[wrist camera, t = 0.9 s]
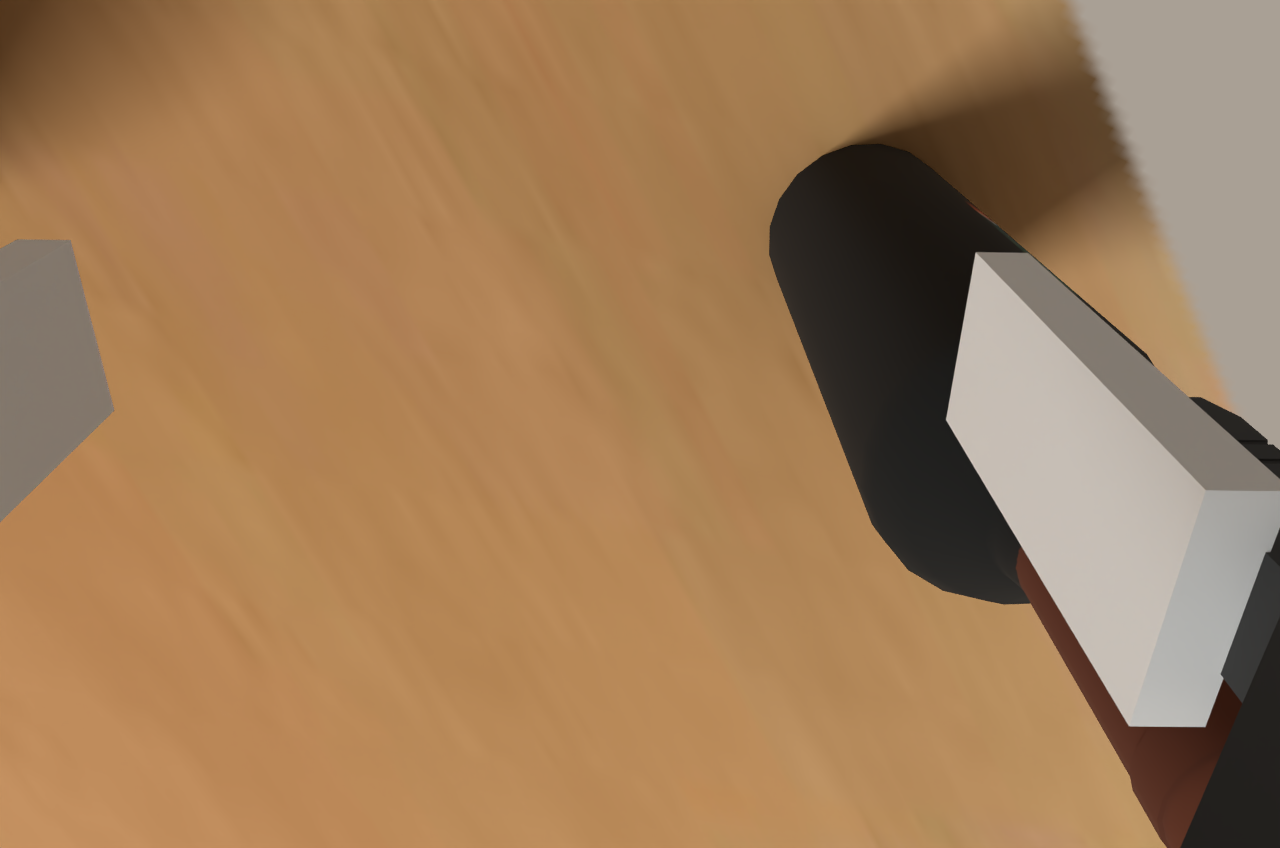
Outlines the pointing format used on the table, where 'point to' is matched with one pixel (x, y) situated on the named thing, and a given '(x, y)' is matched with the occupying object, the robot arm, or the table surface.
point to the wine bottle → (939, 416)
